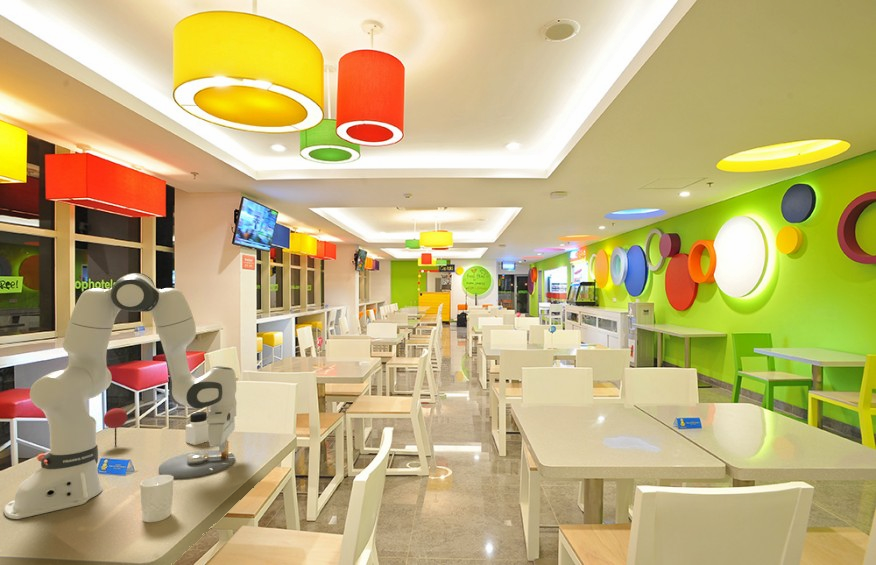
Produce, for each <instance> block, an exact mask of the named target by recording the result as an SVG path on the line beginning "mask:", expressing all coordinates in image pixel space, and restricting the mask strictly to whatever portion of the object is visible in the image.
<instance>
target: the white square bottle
mask: <svg viewBox="0 0 876 565" xmlns="http://www.w3.org/2000/svg"><path fill="white" fill-rule="evenodd" d="M207 416H208V413H207V412H206V411H201V410H200V411H195V412H192V413H191V414H190V416H189V417H190V418H189V419H190V421H189V422H190V423H189V424H186V425H185V443H187V444H189V443H190V444H189V445H193V446H197V445H201V444H204V442H205V443H209V438H208V425H209V424H207V423H206V419H207Z"/></svg>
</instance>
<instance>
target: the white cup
mask: <svg viewBox="0 0 876 565" xmlns="http://www.w3.org/2000/svg"><path fill="white" fill-rule="evenodd" d="M139 485H140V486H139V487H140V503H141V511H142V514H141V515H142V516H141V517H142V520H143V522H144V523H157V522H161V521H164V520H165V519H167V518H169V517H170V516H171V514H172V504H173V496H174V493H173V492H174V477H173V476H171V475H160V474H158V475H152V476H150V477H147V478H145V479H143V480H141V482H140V483H139Z"/></svg>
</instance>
